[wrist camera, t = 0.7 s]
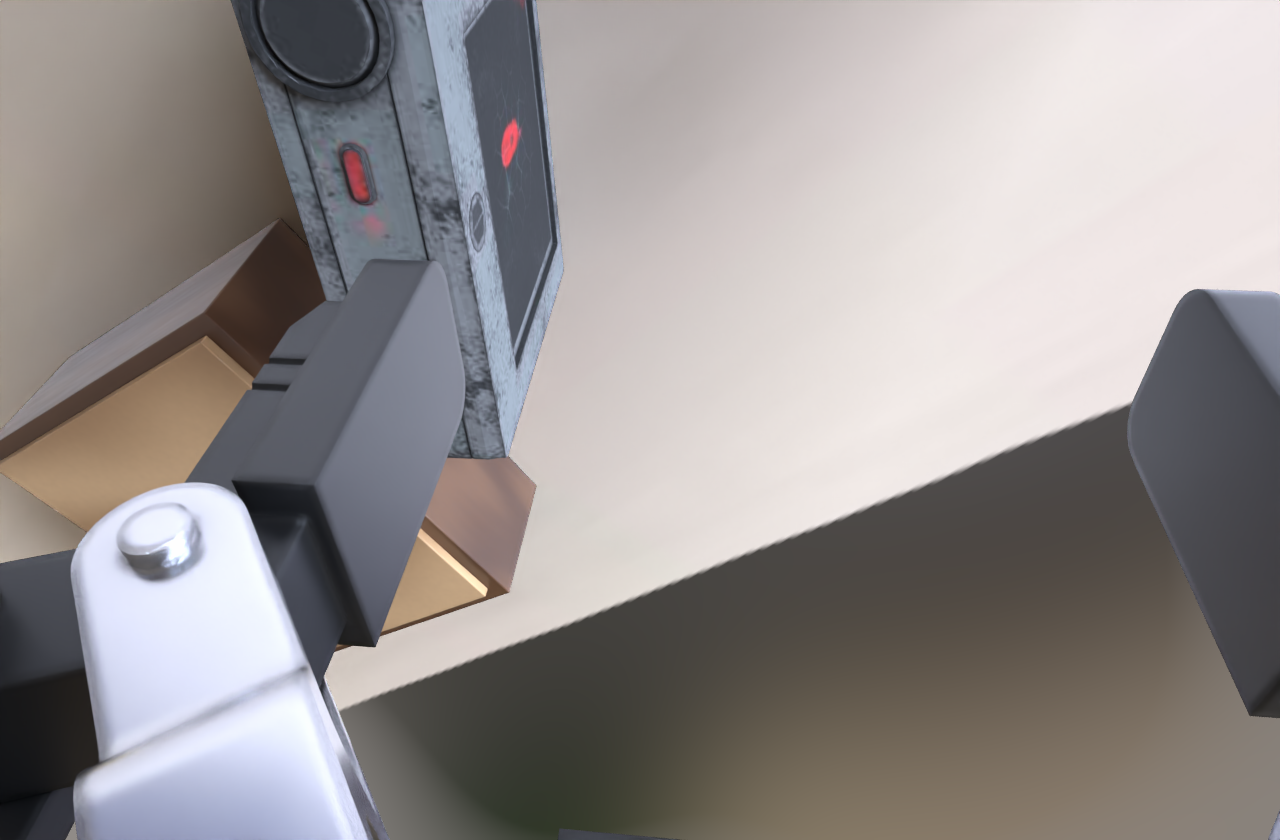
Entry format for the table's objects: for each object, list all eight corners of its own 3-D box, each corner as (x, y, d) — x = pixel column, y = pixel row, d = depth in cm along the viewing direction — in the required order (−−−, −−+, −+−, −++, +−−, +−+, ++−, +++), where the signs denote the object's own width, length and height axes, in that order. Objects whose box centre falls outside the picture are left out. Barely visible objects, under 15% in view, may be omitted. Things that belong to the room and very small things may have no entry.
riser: (68, 357, 36) (-32, 462, 32) (280, 216, 31) (196, 320, 26) (331, 567, 44) (282, 676, 39) (537, 485, 39) (507, 601, 34)
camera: (341, -341, 21) (106, -323, 13) (507, -347, 20) (363, -332, 13) (459, 266, 31) (366, 463, 24) (568, 269, 31) (509, 470, 24)
